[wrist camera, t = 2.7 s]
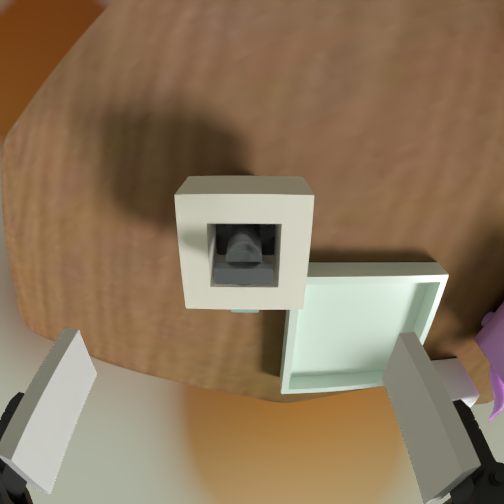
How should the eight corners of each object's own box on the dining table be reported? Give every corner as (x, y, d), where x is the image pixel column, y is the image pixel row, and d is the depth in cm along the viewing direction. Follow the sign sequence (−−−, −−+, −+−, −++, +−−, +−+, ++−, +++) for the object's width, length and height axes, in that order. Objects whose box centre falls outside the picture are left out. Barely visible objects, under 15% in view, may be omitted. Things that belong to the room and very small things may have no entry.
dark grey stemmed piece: (210, 176, 26) (184, 225, 16) (283, 176, 26) (301, 226, 16) (212, 242, 29) (193, 318, 19) (280, 242, 29) (293, 319, 19)
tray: (289, 262, 30) (292, 277, 27) (437, 262, 30) (448, 274, 27) (279, 377, 37) (280, 393, 34) (399, 368, 37) (405, 382, 35)
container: (396, 396, 40) (421, 469, 28) (417, 360, 36) (453, 438, 25) (436, 391, 40) (465, 456, 29) (459, 356, 37) (496, 424, 25)
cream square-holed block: (188, 176, 22) (174, 194, 18) (302, 176, 22) (314, 195, 18) (196, 287, 26) (187, 321, 22) (294, 288, 26) (301, 322, 22)
